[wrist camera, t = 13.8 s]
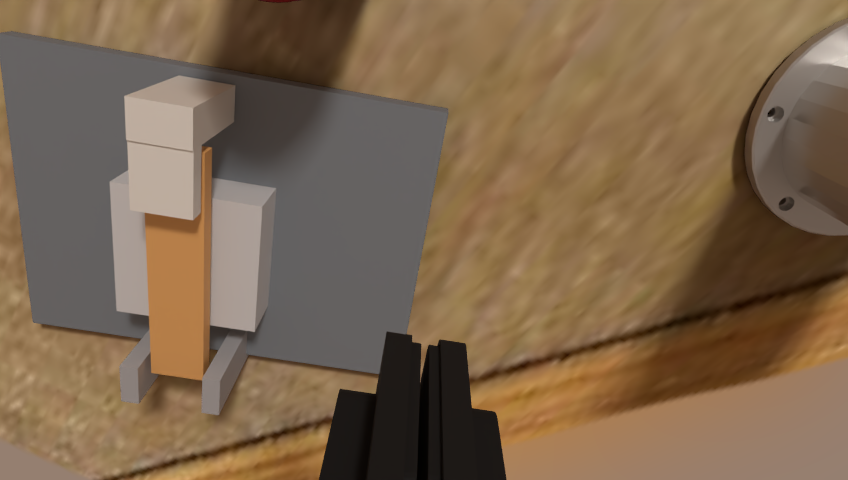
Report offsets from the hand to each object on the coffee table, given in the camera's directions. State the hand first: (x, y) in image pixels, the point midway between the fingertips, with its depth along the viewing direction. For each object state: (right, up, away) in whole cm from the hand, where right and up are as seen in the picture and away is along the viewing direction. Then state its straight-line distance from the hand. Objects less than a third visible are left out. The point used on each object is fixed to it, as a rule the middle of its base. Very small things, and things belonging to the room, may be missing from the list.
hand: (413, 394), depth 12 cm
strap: (-13, +2, +20) cm, 24 cm away
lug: (-12, +9, +20) cm, 25 cm away
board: (-12, +5, +23) cm, 27 cm away
